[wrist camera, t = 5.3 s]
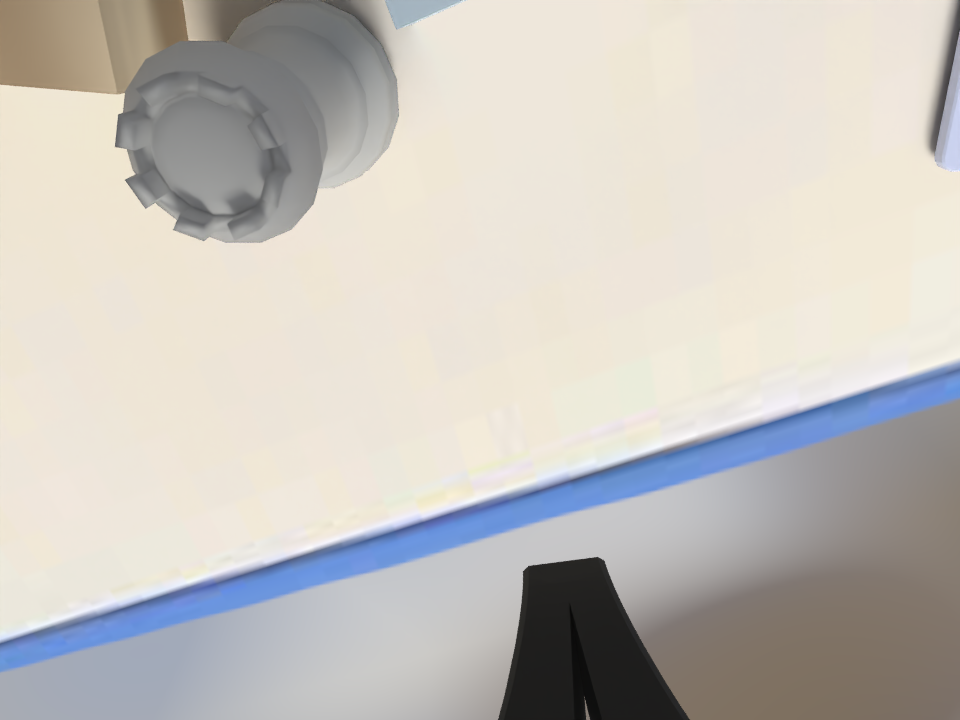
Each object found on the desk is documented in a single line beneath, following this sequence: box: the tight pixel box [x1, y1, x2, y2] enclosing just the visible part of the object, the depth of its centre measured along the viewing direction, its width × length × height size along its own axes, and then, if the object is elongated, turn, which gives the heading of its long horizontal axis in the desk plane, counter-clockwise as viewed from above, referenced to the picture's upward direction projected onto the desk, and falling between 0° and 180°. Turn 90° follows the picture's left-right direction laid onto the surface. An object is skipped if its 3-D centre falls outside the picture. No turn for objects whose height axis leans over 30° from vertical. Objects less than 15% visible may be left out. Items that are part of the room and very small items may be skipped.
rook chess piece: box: [115, 0, 399, 243], centre depth 13 cm, size 4×4×8 cm
